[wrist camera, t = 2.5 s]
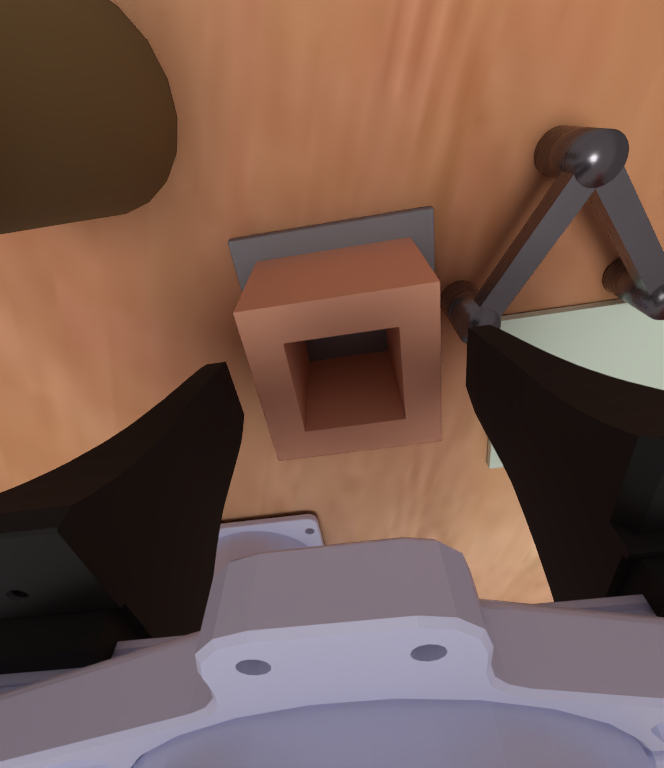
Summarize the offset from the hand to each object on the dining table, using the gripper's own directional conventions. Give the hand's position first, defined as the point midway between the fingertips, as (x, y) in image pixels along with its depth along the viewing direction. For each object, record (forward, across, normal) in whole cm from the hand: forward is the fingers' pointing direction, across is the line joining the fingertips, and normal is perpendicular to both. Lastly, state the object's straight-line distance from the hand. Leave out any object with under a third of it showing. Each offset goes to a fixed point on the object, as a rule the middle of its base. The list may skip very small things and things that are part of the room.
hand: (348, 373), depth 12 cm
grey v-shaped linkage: (+4, -7, -2) cm, 8 cm away
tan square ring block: (+4, 0, 0) cm, 4 cm away
